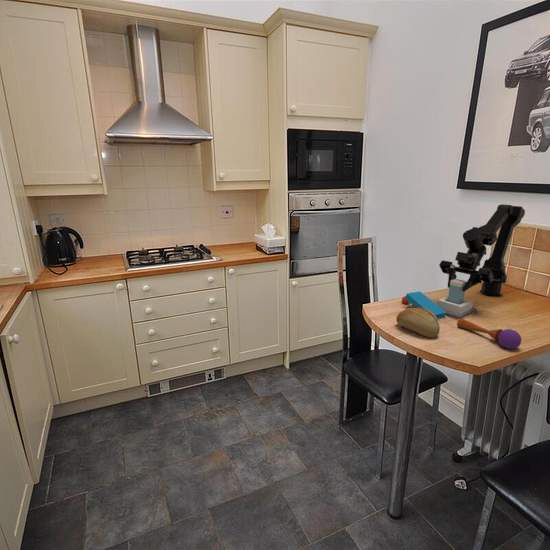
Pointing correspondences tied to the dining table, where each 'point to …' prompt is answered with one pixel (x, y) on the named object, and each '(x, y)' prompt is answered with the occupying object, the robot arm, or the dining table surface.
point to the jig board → (456, 308)
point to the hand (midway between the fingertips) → (455, 289)
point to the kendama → (495, 334)
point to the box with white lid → (456, 291)
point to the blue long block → (423, 303)
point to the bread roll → (419, 321)
